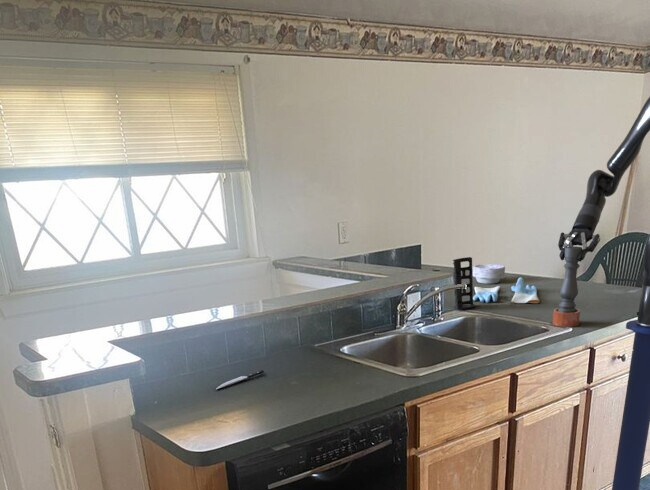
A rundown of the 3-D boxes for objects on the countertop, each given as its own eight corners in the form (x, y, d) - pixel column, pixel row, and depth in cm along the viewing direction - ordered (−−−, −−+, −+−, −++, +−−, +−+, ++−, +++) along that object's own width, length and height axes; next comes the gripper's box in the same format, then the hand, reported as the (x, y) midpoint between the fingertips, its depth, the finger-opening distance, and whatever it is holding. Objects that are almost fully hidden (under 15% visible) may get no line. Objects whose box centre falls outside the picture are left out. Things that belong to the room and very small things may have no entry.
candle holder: (561, 315, 242) (568, 245, 232) (577, 317, 239) (585, 246, 229) (554, 318, 238) (561, 248, 228) (571, 320, 234) (579, 249, 224)
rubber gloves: (471, 303, 277) (472, 288, 275) (474, 288, 306) (475, 274, 304) (539, 304, 271) (540, 288, 268) (535, 288, 300) (536, 274, 297)
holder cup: (584, 324, 237) (585, 311, 235) (563, 328, 234) (565, 314, 232) (567, 319, 244) (568, 306, 242) (547, 322, 242) (548, 309, 240)
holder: (466, 310, 264) (464, 260, 258) (449, 310, 269) (446, 260, 262) (478, 305, 272) (476, 256, 266) (461, 305, 277) (459, 257, 270)
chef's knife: (209, 389, 189) (215, 390, 187) (208, 385, 188) (215, 386, 186) (258, 371, 201) (265, 373, 199) (258, 368, 201) (264, 369, 199)
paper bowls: (508, 280, 321) (509, 264, 318) (498, 286, 309) (499, 269, 306) (478, 278, 329) (479, 262, 325) (467, 284, 317) (468, 267, 314)
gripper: (565, 212, 234) (548, 251, 230) (606, 213, 225) (589, 254, 221) (569, 226, 239) (552, 264, 236) (609, 228, 231) (593, 267, 227)
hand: (570, 259), depth 229 cm, fingers closed on candle holder, 5 cm apart
